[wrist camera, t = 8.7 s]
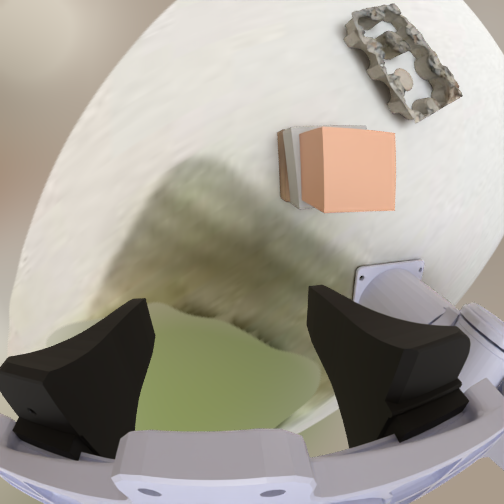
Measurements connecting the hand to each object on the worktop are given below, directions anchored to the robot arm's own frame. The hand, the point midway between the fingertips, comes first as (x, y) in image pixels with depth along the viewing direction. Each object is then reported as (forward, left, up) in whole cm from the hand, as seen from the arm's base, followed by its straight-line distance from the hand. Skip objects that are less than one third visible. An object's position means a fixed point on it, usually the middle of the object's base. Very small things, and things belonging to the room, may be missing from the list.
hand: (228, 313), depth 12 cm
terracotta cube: (+6, -7, -6) cm, 11 cm away
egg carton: (+16, -15, -11) cm, 24 cm away
